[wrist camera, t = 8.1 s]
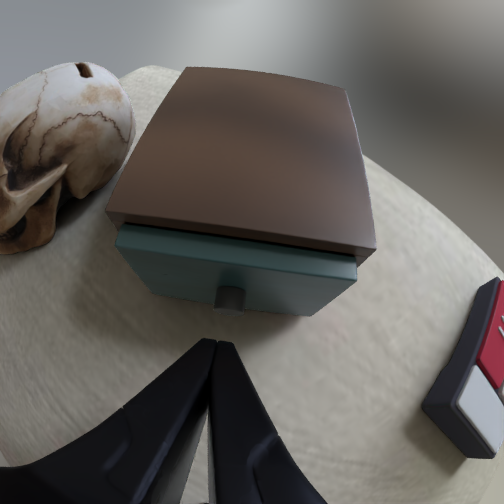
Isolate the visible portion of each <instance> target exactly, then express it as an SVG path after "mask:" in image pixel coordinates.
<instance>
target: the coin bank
mask: <svg viewBox="0 0 504 504" xmlns="http://www.w3.org/2000/svg"><path fill="white" fill-rule="evenodd" d="M135 134H136V120H135V115H134V111H133V108H132V103H131V100H130V97H129V96H128V94H127V92H126V91H125V90H124V88H123V87H122V85H121V83H120V82H119V80H118V79H117V78H116V77H115V76H114V75H113V74H112V73H110V72H109V71H108V70H106V69H105V68H103V67H101V66H98V65H96V64H93V63H88V62H82V63H64V64H59V65H56V66H53V67H50V68H48V69H46V70H43V71H41V72H38V73H36V74H34V75H33V76H31V77H29V78H27V79H25V80H23V81H21V82H19V83H17V84H15V85H14V86H12V87H10V88H9V89H7V90H6V91H4V92H3V93H2V94H1V96H0V254H14V253H16V252H22V251H27V250H29V249H30V248H33V247H37V246H41V245H43V244H46V243H48V242H49V241H50V240H51V239H52V238H53V235H54V233H55V231H56V224H55V221H56V214H57V211H58V210H59V208H60V207H61V206H62V205H64V204H65V203H66V202H67V201H68V200H69V199H70V198H72V197H73V196H75V197H77V198H78V199H83V198H84V197H86V196H87V195H88V193H89V192H90V191H94V190H97V189H99V188H102V187H103V186H104V185H105V184H106V183H108V182H109V181H110V180H111V178H112V177H113V176H114V174H115V173H116V172H117V171H118V170H119V169H120V167H121V166H122V164H123V162H124V160H125V158H126V156H127V154H128V151H129V149H130V147H131V145H132V143H133V140H134V137H135Z"/></svg>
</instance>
